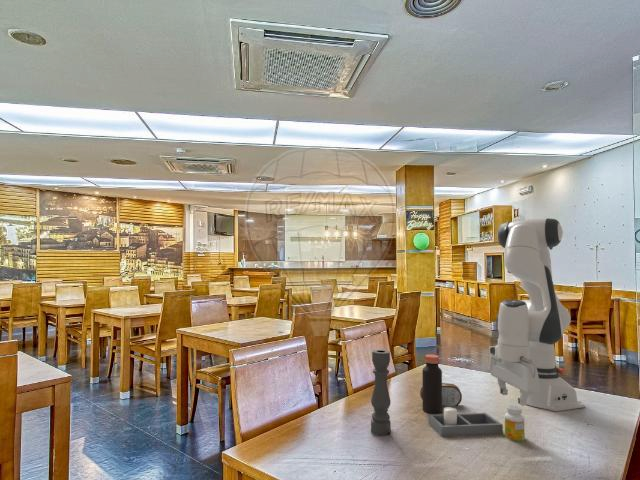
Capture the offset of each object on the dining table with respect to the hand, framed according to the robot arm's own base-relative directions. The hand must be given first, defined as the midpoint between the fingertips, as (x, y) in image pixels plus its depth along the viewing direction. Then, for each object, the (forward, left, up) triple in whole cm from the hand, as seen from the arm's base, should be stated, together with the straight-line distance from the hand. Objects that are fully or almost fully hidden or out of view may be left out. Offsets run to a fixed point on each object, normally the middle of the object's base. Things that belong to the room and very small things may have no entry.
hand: (512, 399), depth 123 cm
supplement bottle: (-1, 0, -12) cm, 12 cm away
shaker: (+16, -8, -11) cm, 21 cm away
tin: (+9, -30, -12) cm, 34 cm away
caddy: (+11, -8, -12) cm, 19 cm away
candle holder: (+38, -10, -12) cm, 42 cm away
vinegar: (+15, -24, -12) cm, 31 cm away
